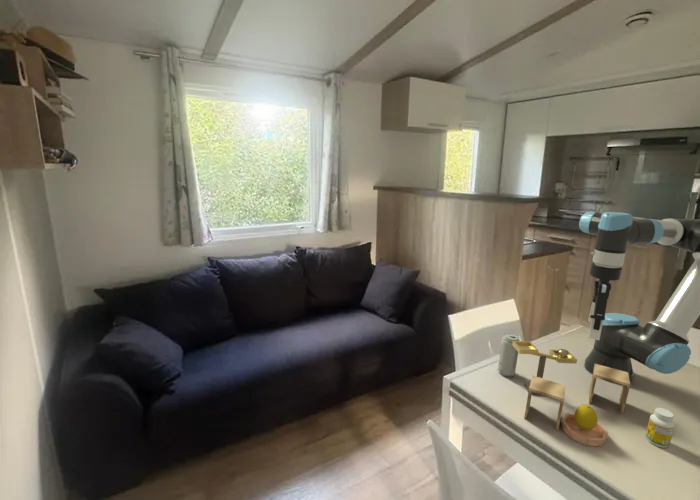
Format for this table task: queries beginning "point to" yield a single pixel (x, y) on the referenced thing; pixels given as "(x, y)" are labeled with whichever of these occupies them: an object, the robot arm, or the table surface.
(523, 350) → the balance
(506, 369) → the energy drink can
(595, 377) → the oak cover
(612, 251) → the robot arm
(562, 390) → the oak cover
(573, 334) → the table surface
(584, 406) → the lemon
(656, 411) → the supplement bottle
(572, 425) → the saucer
